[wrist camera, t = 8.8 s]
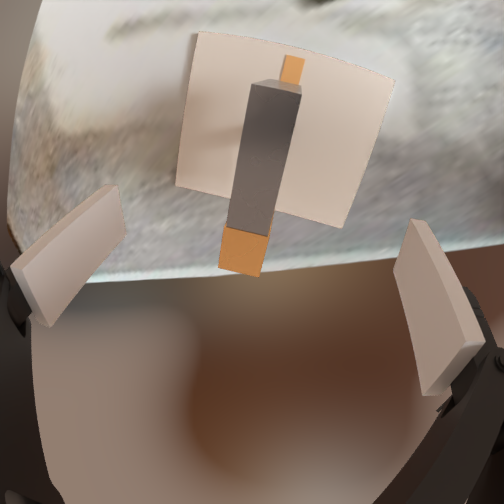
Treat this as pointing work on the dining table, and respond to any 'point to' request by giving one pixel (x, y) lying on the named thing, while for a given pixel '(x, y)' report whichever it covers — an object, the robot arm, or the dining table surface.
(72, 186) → the dining table surface
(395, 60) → the dining table surface
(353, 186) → the post base
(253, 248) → the grey slab
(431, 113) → the dining table surface
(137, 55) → the dining table surface
